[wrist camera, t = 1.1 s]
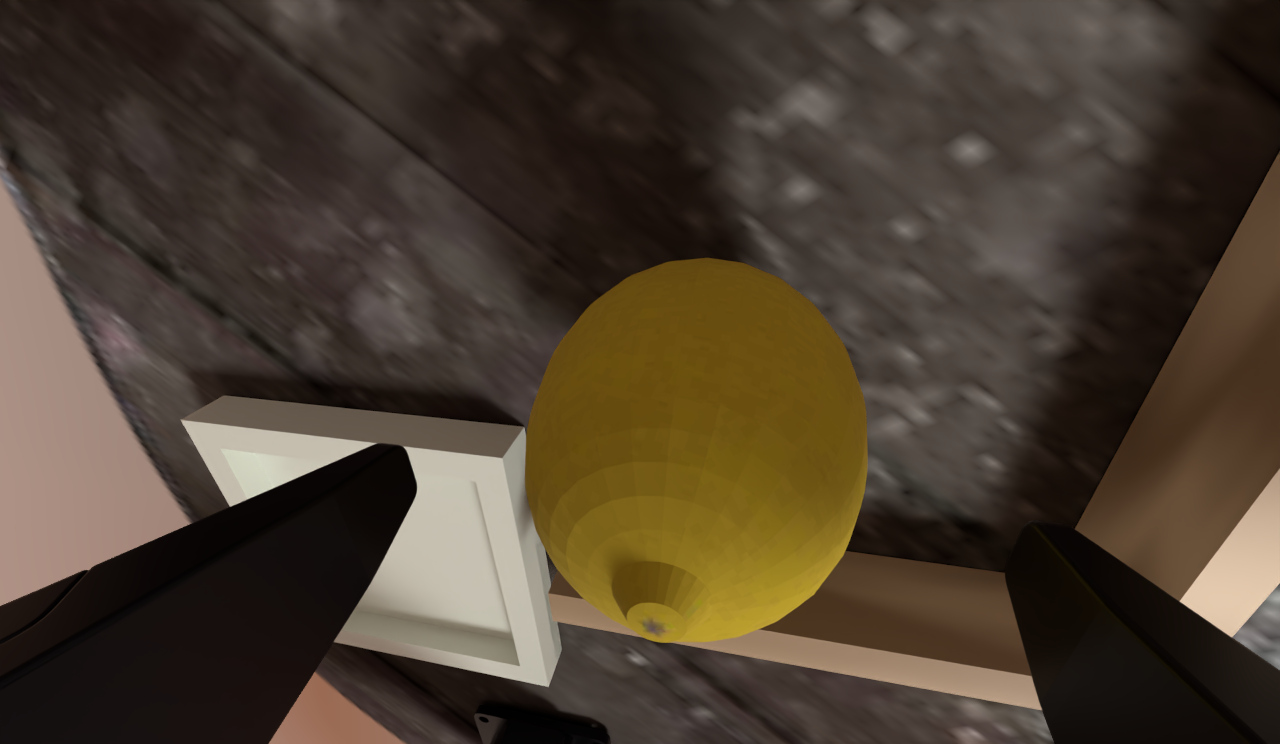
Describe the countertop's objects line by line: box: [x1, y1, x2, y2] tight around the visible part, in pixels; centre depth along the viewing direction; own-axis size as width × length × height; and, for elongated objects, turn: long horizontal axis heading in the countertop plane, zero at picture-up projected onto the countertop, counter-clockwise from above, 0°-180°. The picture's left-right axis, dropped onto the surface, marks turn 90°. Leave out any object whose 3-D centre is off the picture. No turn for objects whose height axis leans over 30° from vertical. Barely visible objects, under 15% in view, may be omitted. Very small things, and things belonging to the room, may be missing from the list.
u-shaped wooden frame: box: [523, 0, 1280, 710], centre depth 10 cm, size 16×15×3 cm
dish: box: [181, 395, 562, 687], centre depth 18 cm, size 11×11×2 cm
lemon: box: [525, 258, 868, 643], centre depth 9 cm, size 6×6×8 cm
